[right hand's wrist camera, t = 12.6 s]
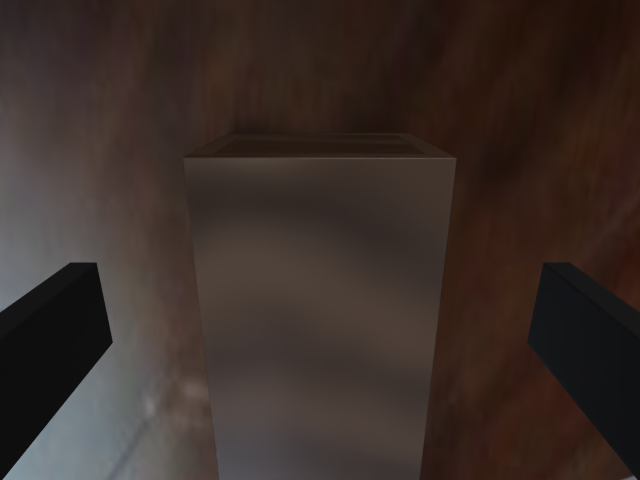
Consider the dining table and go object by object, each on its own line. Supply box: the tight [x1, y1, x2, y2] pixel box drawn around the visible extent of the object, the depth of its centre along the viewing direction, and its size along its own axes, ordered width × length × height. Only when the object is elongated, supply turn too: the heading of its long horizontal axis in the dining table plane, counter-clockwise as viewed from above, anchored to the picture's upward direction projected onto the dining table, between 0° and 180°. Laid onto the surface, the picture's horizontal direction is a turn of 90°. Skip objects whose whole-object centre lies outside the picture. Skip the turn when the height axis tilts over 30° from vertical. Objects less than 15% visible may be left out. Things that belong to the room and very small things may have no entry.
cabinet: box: [183, 133, 457, 480], centre depth 24 cm, size 21×11×9 cm, turn 0°
